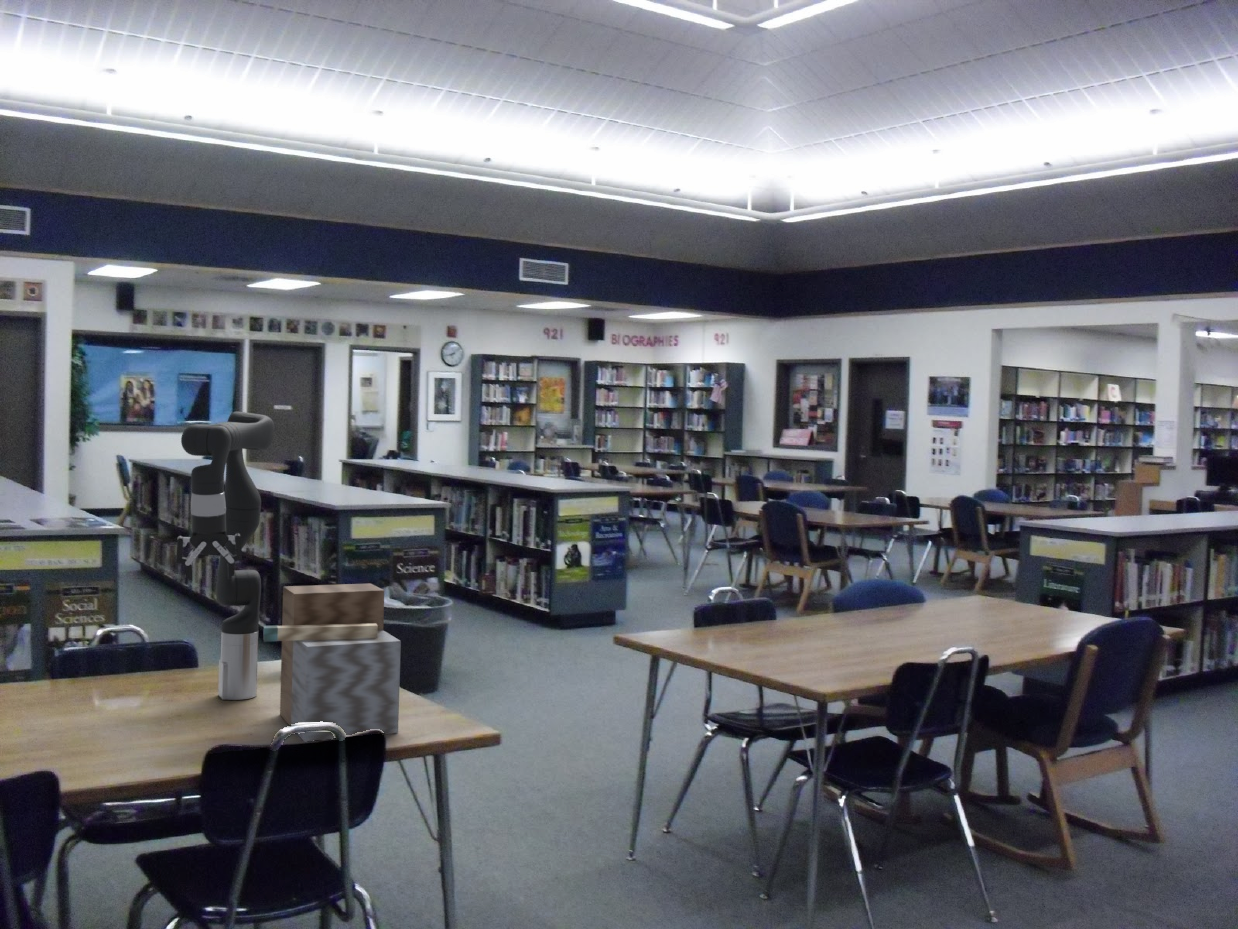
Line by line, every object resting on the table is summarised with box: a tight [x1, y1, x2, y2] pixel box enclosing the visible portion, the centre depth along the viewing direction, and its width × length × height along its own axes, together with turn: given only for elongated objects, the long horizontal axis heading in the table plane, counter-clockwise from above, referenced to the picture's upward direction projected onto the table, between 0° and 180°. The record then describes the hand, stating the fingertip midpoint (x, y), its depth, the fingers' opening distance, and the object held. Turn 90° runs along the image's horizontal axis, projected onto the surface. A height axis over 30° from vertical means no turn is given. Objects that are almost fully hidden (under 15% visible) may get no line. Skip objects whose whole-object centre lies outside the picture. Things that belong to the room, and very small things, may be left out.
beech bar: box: [262, 623, 378, 643], centre depth 272 cm, size 26×3×3 cm, turn 110°
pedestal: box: [279, 582, 402, 743], centre depth 278 cm, size 22×26×32 cm
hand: (210, 579), depth 266 cm, fingers open, 8 cm apart
